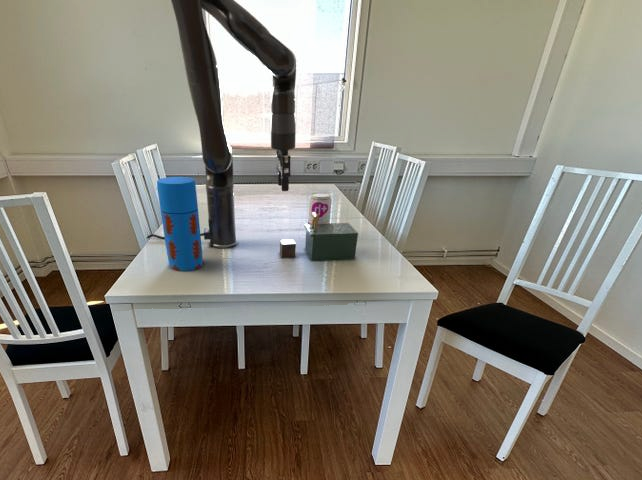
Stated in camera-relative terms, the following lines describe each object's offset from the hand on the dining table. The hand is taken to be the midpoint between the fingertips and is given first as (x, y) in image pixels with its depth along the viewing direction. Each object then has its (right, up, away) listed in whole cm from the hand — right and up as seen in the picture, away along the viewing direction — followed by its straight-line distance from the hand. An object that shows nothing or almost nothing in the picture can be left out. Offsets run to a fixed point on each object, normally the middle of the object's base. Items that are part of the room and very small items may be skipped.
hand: (283, 188), depth 129 cm
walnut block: (+2, -21, +5) cm, 21 cm away
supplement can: (+14, -9, +22) cm, 28 cm away
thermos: (-31, -26, -3) cm, 41 cm away
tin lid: (+16, -13, +2) cm, 21 cm away
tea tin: (+16, -20, +6) cm, 26 cm away
